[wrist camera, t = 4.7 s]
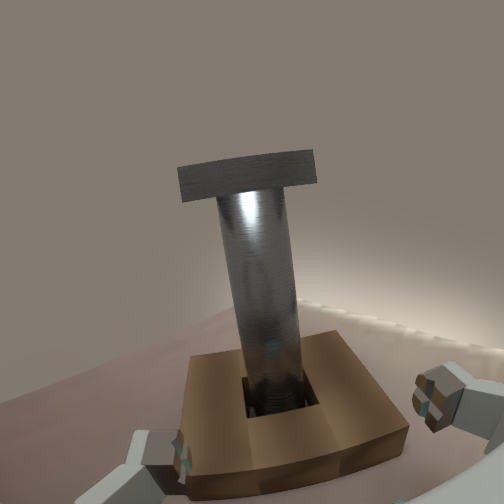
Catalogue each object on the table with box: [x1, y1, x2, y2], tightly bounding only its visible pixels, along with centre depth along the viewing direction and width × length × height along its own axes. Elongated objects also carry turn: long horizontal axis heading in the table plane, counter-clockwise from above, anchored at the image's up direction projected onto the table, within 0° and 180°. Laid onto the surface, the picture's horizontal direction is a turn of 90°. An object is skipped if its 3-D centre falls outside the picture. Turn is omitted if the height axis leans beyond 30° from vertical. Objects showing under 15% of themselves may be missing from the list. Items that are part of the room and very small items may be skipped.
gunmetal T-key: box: [177, 149, 317, 417], centre depth 17 cm, size 7×4×18 cm, turn 96°
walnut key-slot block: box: [180, 330, 410, 501], centre depth 19 cm, size 13×13×3 cm
